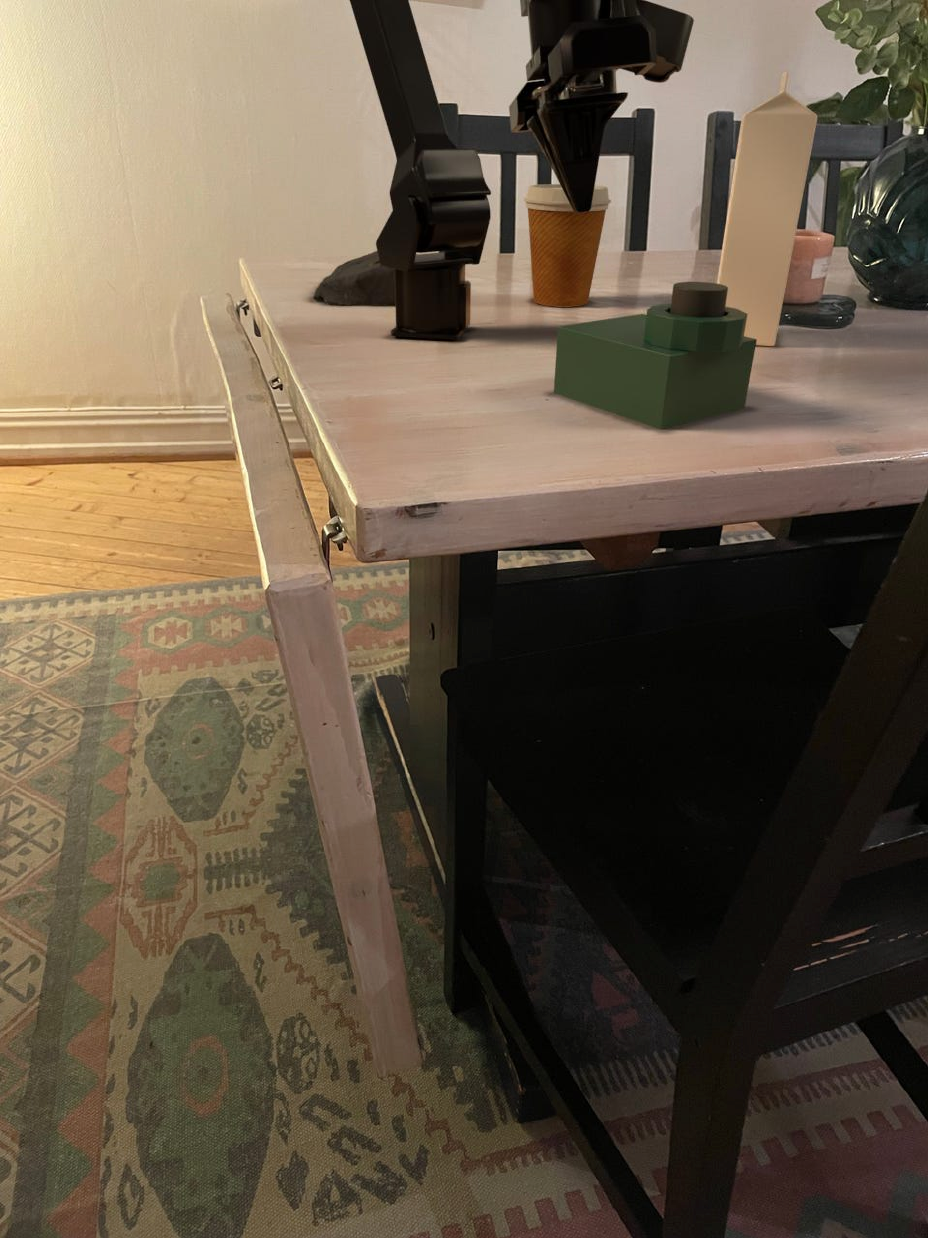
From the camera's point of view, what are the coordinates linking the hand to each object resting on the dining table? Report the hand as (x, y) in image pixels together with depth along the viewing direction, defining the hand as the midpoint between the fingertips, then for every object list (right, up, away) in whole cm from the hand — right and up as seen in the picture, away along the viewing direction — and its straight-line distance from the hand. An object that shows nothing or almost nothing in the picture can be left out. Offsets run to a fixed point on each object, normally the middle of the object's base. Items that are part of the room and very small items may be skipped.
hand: (582, 212), depth 65 cm
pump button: (+7, -10, -6) cm, 14 cm away
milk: (+18, -3, +19) cm, 27 cm away
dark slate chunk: (-19, +10, +41) cm, 46 cm away
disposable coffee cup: (+2, +6, +35) cm, 35 cm away
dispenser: (+5, -14, 0) cm, 15 cm away
